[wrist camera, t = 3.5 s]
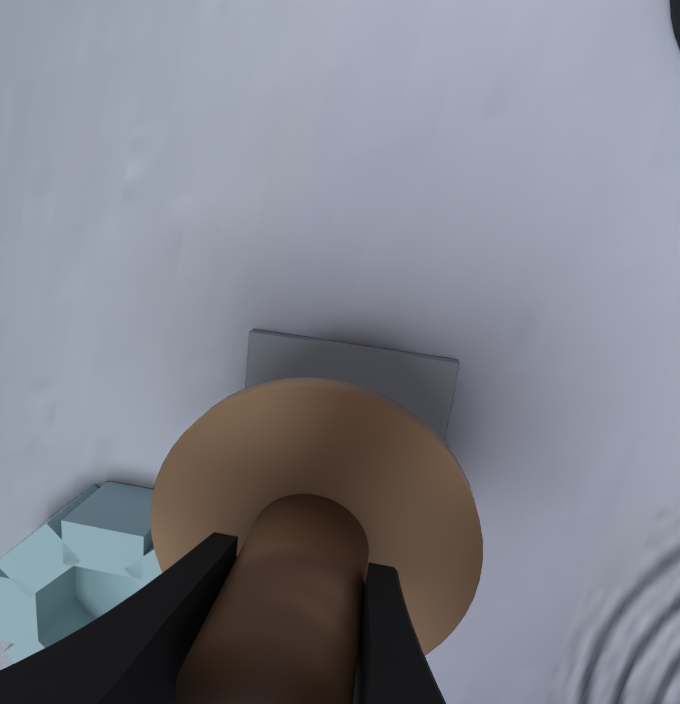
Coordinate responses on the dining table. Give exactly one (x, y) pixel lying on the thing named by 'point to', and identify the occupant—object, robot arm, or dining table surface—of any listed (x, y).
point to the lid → (312, 535)
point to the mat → (358, 371)
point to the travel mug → (676, 18)
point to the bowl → (76, 567)
